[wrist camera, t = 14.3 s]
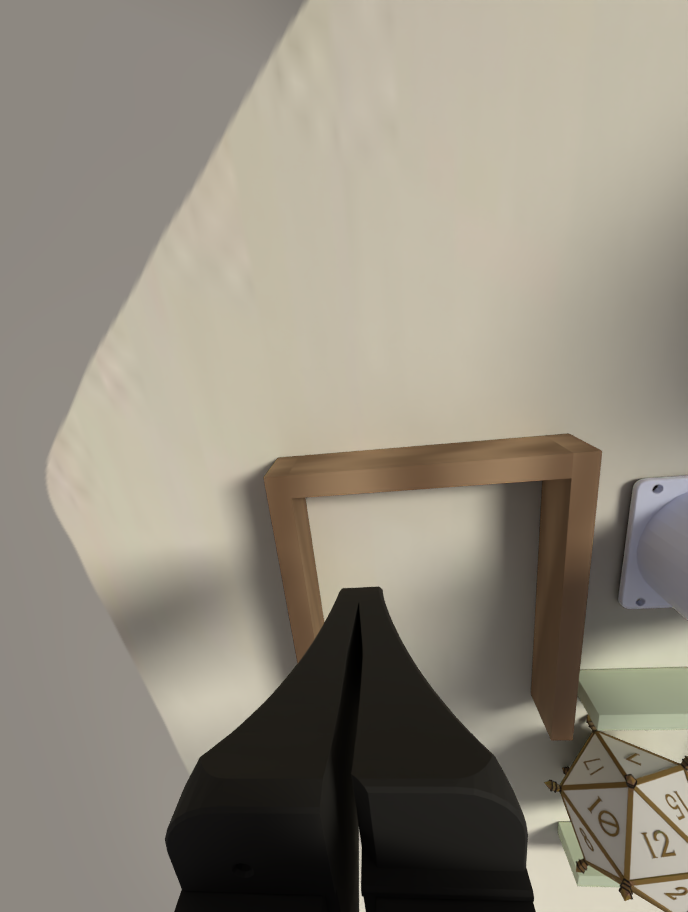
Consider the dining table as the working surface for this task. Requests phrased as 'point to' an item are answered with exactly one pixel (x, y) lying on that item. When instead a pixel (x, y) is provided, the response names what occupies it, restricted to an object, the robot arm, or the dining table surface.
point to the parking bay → (626, 725)
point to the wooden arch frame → (450, 465)
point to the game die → (630, 818)
